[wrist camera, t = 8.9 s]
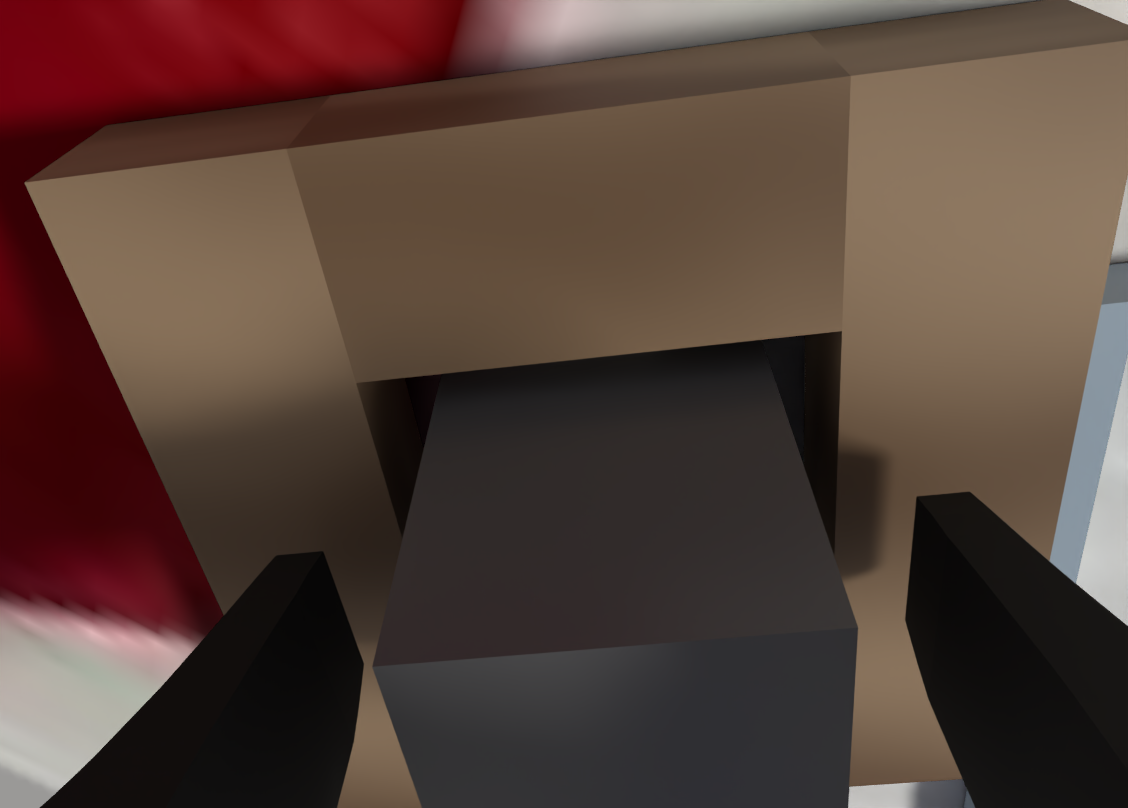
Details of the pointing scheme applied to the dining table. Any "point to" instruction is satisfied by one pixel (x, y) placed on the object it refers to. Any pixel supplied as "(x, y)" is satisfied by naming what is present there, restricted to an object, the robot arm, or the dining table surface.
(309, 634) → the robot arm
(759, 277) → the socket block
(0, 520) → the dining table surface
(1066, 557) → the frame
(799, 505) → the plug
